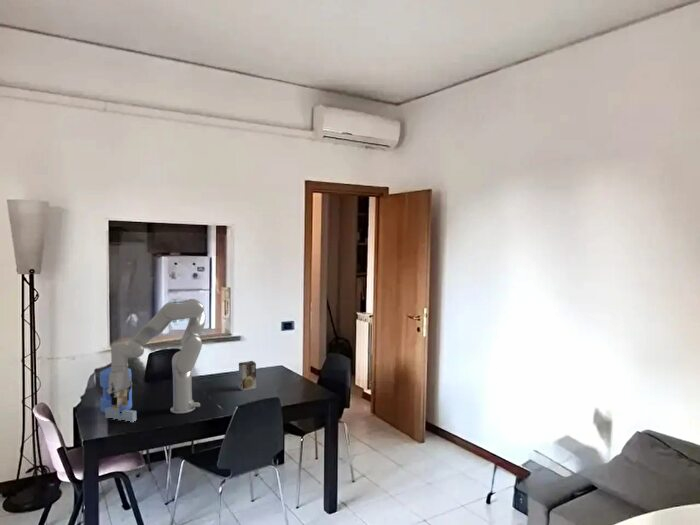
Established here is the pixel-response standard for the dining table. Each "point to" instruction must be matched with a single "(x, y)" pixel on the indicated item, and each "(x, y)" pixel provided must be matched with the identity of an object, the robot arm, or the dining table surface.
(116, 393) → the robot arm
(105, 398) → the water jug
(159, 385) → the dining table surface
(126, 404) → the notched wooden block
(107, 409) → the plain gray rectangular bar
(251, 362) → the coffee box
